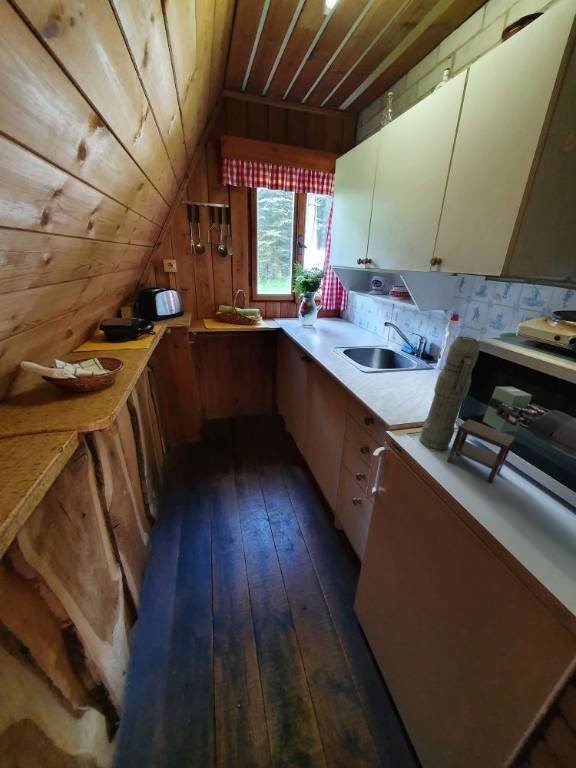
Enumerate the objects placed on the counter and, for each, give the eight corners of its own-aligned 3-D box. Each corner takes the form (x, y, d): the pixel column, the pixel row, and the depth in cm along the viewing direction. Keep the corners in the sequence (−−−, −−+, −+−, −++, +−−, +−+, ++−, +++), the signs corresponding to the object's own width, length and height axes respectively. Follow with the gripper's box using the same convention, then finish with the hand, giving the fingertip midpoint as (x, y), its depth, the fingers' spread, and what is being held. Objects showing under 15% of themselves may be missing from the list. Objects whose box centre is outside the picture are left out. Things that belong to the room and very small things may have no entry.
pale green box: (498, 420, 83) (512, 386, 79) (516, 430, 78) (532, 394, 75) (482, 421, 82) (495, 386, 78) (500, 431, 77) (515, 394, 73)
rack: (499, 472, 88) (515, 437, 84) (491, 483, 83) (507, 446, 78) (456, 452, 96) (468, 419, 91) (446, 461, 91) (459, 426, 86)
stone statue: (440, 435, 105) (473, 335, 92) (454, 455, 94) (494, 345, 81) (414, 432, 105) (443, 332, 93) (425, 451, 94) (461, 341, 82)
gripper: (599, 418, 66) (524, 387, 81) (551, 420, 62) (482, 387, 77) (583, 448, 68) (514, 413, 83) (536, 452, 64) (472, 414, 79)
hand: (499, 401), depth 80 cm, fingers closed on pale green box, 5 cm apart
